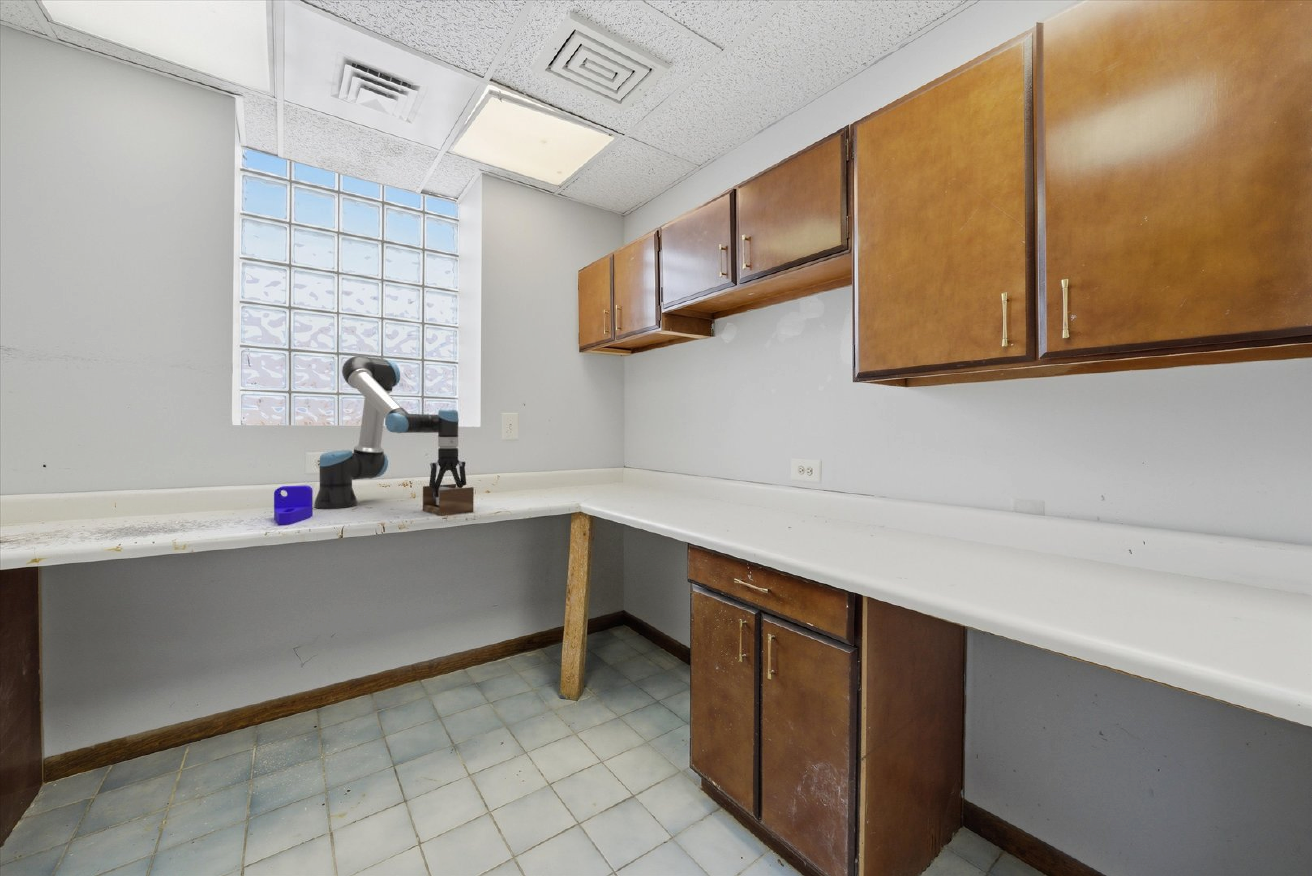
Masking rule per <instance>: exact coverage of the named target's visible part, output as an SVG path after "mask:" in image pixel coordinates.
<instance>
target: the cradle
mask: <svg viewBox="0 0 1312 876" xmlns="http://www.w3.org/2000/svg"><path fill="white" fill-rule="evenodd" d="M440 487H448V488H454V489H444V490H439V505H436V501H435V500H434V498H433V493H434V488H431V487H429V485H425V486H424V485H422V512H426V513H429V514H433V515H436V516H440V517H443V516H445V517H446V516H451V515H452V516H453V515H461V514H466V513H473V512H474V507H475V506H474V498H475V497H474V493H475V492H474V488H475V487H473V486H469V487H462V488H456V489H455V487H457V485H456V483H449V484H441V485H440Z"/></svg>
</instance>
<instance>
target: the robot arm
mask: <svg viewBox="0 0 1312 876" xmlns="http://www.w3.org/2000/svg"><path fill="white" fill-rule="evenodd" d="M341 373H342V377H343V379H344V380H345V382H346V384H347V385H348V386H350V388H352V389H356V390H357V391H358V392H359V393H360V394H361V395H362V396H363V397H364V399H363V400H364V402H363V408H362V409H363V410H362V417H361V424H360V431H359V439H358V444H357V445H355V446H354V447H353V451H352V450H350V449H345V450H344V449H343V450H335V451H334V450H332V451H327V452H323V453H322V454H320V457H319V461H318V462H319V463H318V466H319V489H318V492H317V495H316V497H315V500H314V507H313V508H315V509H322V510H323V509H324V510H325V509H328V510H329V509H343V508H350V507H351V508H352V507H355V506H357V505H358V502H357V501H358V500H357V497H356V493H355V491H354V489H353V481H355V480H356V481H357V480H365V479H370V480H371V479H375V478H380V477H382V476H383V475H384V474H385V473H386V471H387V470H388V467H389V459H388V455H387V454H386V453H385V452H384V449H383V448H382V447H381V446H382V445H381V444H382V438H383V432H384V426H385V427H386V430H387V431H388V432H390V433H397V434H405V433H406V434H410V433H413V434H417V433H418V434H419V433H420V434H426V433H427V434H431V433H432V434H433V433H434V434H435V433H436V434H438V435H437V439H438V440H437V444H438V445H437V447H438V449H437V450H438V451H437V454H438V455H437V458H438V459H437V461H436V462H430V463H429V464H430V465H429V466H430V475H429V485H428V486H429V487H431V488H434V496H435V497H436V505H439V490H441V489H439V487H440V485H442V481H443V479H444V476H445V473H446V472H447V471H450V472H451V474H452V477H453V480H454V482H455V484H456V487H455V489H456V488H464V486H466V485H467V477H466V468H465V467H466V461H463V460H462V461H460V460H459V448H458V447H459V421H460V419H459V411H458V410H456V409H438V413H437V414H428V413H427V414H423V413H421V414H420V413H409V412H407V411H406V409H404V408H403V406H402V405H401V404H399V403H398V401H397V400H395V399H394V397H393V396H391V394H390V393H392V392H393V388H394V387H396V386H398V384H400V380H401V371H400V368H399V366H398V364H396V363H395V362H394V361H392V360H388V359H385V358H377V357H369V356H365V355H364V356H363V355H362V356H361V355H355V356H351V357H350V358H348V359H346V361H345V362H344V363H343V365H342V370H341ZM438 466H439V470H438ZM457 466H458V467H459V473H458V468H457ZM437 470H438V471H437ZM437 472H438V474H437Z"/></svg>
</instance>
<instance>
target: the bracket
mask: <svg viewBox="0 0 1312 876" xmlns="http://www.w3.org/2000/svg"><path fill="white" fill-rule="evenodd" d="M282 491H284V492H286V496H285V495H283V494H282ZM313 496H314V494H313V488H312V487H311V486H310V485H307V484H306V485H283V486H280V487H278V488H276V489H275V490H274V492H273V520H274V522H275V523H276V524H277V525H278V526H289V525H294V524H297V523H299V522H302V521H305V520H307V519H310V518H312V517H313V516H314V515H313V514H314V513H313V512H314V511H313V508H314V507H313V498H314V497H313Z"/></svg>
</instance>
